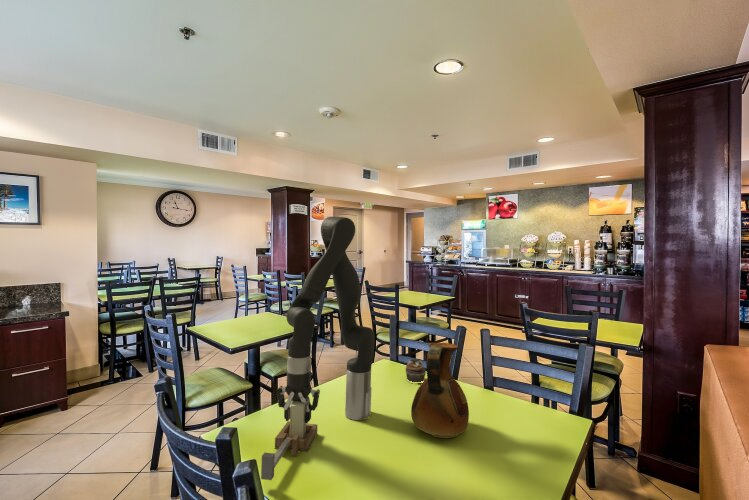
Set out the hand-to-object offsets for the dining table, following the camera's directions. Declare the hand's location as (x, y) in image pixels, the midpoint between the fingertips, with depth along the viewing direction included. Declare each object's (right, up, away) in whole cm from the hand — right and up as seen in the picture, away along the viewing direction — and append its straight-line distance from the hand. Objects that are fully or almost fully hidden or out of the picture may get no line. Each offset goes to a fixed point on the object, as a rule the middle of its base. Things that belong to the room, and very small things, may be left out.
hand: (297, 420), depth 113 cm
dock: (0, -7, -1) cm, 7 cm away
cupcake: (+44, -7, +54) cm, 70 cm away
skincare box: (0, -6, 0) cm, 6 cm away
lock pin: (-2, -4, -15) cm, 16 cm away
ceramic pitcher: (+47, -8, +10) cm, 49 cm away
